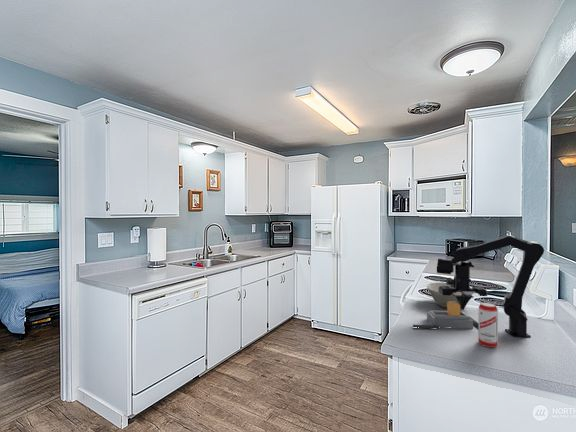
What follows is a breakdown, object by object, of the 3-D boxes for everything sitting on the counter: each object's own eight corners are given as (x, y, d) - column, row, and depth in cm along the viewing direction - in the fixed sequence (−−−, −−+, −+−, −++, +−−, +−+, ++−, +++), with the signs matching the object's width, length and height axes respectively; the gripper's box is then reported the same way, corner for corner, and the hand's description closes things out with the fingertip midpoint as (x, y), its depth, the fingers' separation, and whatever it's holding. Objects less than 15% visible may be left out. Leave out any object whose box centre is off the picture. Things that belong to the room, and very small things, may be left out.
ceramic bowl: (470, 302, 165) (470, 284, 165) (477, 316, 144) (477, 296, 144) (426, 297, 175) (426, 280, 174) (426, 310, 154) (426, 291, 153)
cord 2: (482, 329, 130) (482, 325, 130) (478, 328, 131) (478, 325, 131) (470, 319, 141) (470, 316, 141) (466, 319, 141) (467, 316, 141)
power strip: (473, 328, 131) (473, 318, 131) (434, 327, 133) (434, 317, 133) (462, 319, 141) (462, 310, 141) (427, 318, 143) (427, 309, 143)
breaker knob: (460, 317, 134) (460, 304, 134) (450, 316, 135) (450, 303, 135) (456, 313, 138) (456, 301, 138) (447, 313, 139) (447, 301, 139)
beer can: (479, 339, 121) (479, 300, 120) (498, 344, 117) (498, 303, 116) (477, 345, 116) (477, 304, 115) (496, 350, 112) (497, 308, 111)
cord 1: (439, 329, 131) (439, 326, 130) (413, 329, 132) (413, 325, 132) (438, 328, 132) (438, 324, 132) (412, 327, 133) (412, 324, 133)
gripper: (475, 271, 142) (475, 304, 143) (434, 271, 145) (434, 303, 145) (488, 277, 131) (487, 312, 132) (443, 277, 133) (443, 311, 134)
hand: (462, 309), depth 136 cm, fingers closed
